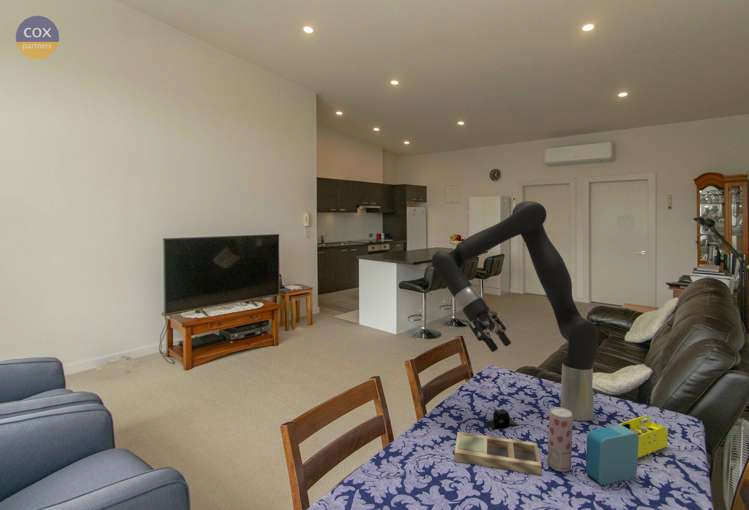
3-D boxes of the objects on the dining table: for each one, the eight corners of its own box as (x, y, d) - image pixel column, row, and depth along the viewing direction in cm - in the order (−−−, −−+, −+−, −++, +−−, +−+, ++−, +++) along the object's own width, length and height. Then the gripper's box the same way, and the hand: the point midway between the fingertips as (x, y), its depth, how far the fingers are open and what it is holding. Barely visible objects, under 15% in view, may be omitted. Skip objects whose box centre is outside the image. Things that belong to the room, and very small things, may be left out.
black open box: (511, 417, 132) (511, 404, 132) (525, 428, 126) (525, 414, 125) (478, 422, 129) (478, 409, 129) (490, 434, 122) (491, 419, 122)
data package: (621, 467, 104) (623, 423, 104) (637, 477, 100) (639, 432, 99) (584, 475, 101) (586, 430, 100) (599, 486, 97) (601, 439, 96)
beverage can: (575, 471, 103) (578, 415, 102) (556, 474, 102) (558, 418, 100) (561, 458, 108) (563, 405, 107) (542, 461, 107) (544, 407, 106)
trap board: (536, 451, 112) (536, 442, 111) (541, 475, 101) (541, 465, 101) (457, 439, 118) (457, 431, 118) (454, 461, 107) (454, 451, 107)
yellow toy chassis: (647, 439, 118) (648, 412, 117) (668, 449, 113) (669, 421, 112) (612, 452, 111) (613, 424, 111) (632, 463, 106) (634, 434, 105)
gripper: (467, 299, 119) (500, 346, 112) (490, 294, 129) (521, 337, 122) (451, 313, 123) (481, 359, 116) (474, 307, 133) (504, 349, 127)
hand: (502, 347), depth 119 cm, fingers open, 8 cm apart
